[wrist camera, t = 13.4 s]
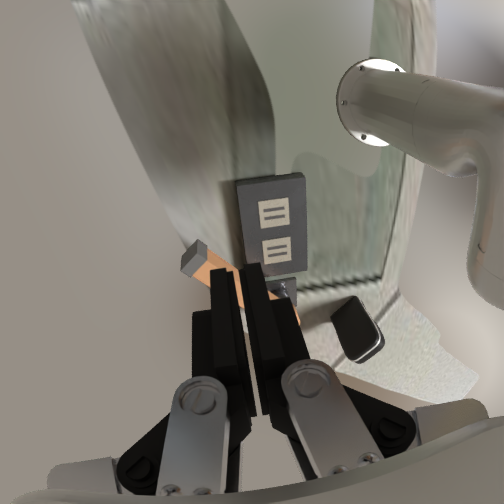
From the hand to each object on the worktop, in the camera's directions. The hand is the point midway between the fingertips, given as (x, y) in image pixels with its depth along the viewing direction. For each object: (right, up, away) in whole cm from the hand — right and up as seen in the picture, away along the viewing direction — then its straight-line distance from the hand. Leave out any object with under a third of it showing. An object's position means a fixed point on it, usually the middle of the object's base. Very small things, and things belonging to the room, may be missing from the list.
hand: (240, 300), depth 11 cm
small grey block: (+5, -5, +42) cm, 43 cm away
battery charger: (+18, -9, +47) cm, 51 cm away
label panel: (+3, +5, +35) cm, 36 cm away
